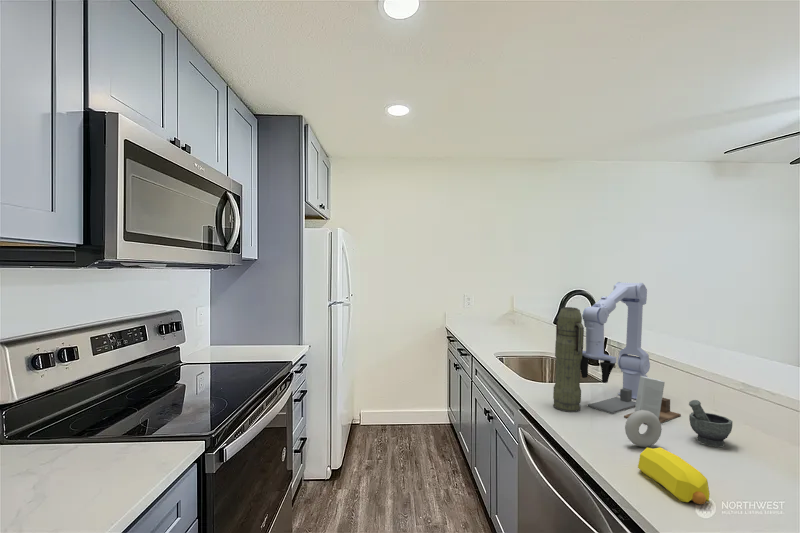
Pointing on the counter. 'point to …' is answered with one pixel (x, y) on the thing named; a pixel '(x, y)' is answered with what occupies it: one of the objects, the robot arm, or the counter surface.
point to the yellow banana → (674, 475)
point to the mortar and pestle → (709, 426)
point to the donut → (651, 433)
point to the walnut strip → (663, 412)
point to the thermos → (568, 359)
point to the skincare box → (649, 395)
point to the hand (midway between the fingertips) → (594, 379)
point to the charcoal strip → (616, 402)
